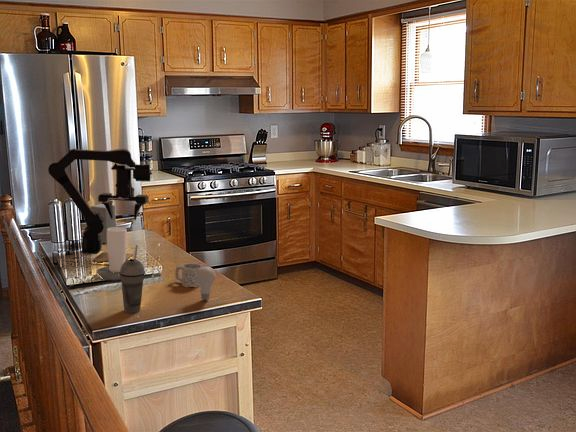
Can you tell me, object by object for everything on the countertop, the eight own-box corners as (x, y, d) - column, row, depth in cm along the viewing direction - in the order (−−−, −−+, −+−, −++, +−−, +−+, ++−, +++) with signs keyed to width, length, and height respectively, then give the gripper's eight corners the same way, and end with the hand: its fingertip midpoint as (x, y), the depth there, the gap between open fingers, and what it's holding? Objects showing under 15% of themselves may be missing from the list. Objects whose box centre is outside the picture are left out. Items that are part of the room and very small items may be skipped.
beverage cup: (122, 306, 178) (122, 241, 175) (146, 306, 179) (147, 242, 175) (117, 314, 171) (117, 247, 167) (142, 315, 172) (143, 248, 168)
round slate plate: (91, 279, 202) (91, 275, 201) (103, 269, 214) (103, 265, 214) (130, 281, 202) (130, 277, 202) (139, 270, 215) (139, 266, 214)
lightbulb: (218, 299, 189) (219, 265, 187) (209, 304, 184) (210, 270, 181) (201, 296, 191) (201, 263, 189) (191, 301, 185) (192, 267, 183)
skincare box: (117, 241, 255) (117, 205, 252) (105, 244, 249) (105, 207, 246) (102, 238, 259) (102, 202, 256) (90, 241, 253) (90, 205, 250)
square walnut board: (92, 264, 220) (92, 260, 219) (102, 255, 232) (102, 252, 231) (125, 265, 220) (125, 261, 220) (132, 257, 232) (132, 253, 231)
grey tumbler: (131, 270, 209) (131, 229, 206) (116, 274, 203) (115, 232, 201) (117, 267, 213) (117, 226, 210) (102, 271, 207) (102, 229, 204)
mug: (205, 284, 204) (205, 265, 203) (194, 289, 198) (195, 270, 197) (181, 279, 208) (181, 260, 207) (169, 283, 202) (170, 265, 201)
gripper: (151, 179, 243) (151, 216, 246) (105, 177, 243) (106, 214, 246) (145, 183, 232) (145, 222, 235) (97, 180, 232) (97, 219, 235)
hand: (123, 219), depth 238 cm, fingers open, 9 cm apart
